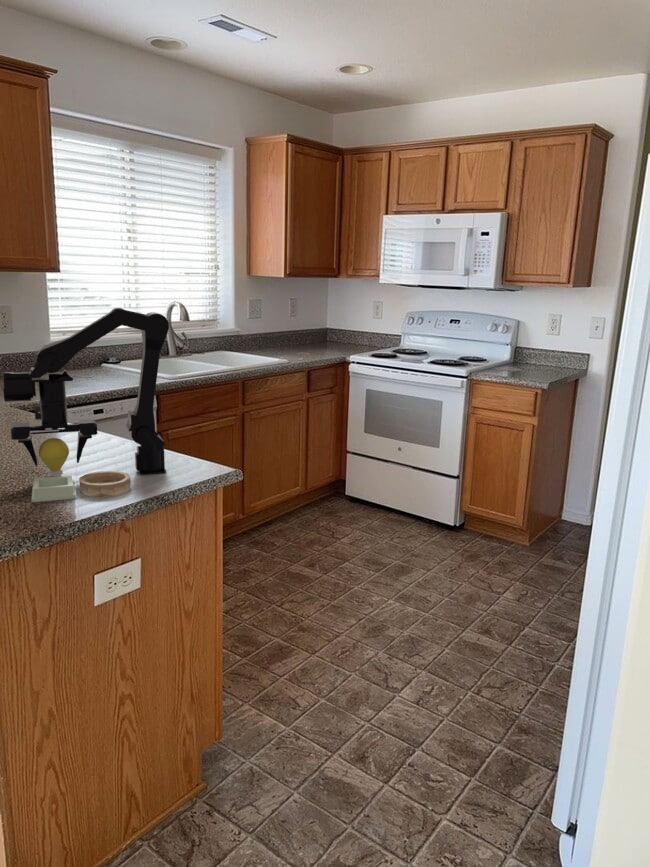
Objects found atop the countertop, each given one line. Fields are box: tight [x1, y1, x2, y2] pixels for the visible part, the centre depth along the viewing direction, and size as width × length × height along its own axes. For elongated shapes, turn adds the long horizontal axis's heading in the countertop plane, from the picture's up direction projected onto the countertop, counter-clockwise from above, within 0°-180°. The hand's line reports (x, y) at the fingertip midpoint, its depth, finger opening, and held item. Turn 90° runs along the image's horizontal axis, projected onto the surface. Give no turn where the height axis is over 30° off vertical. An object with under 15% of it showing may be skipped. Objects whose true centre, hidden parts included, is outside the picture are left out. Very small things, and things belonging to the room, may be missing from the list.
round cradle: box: [78, 470, 132, 498], centre depth 154 cm, size 11×11×3 cm
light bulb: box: [38, 437, 70, 477], centre depth 160 cm, size 7×7×10 cm
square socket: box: [31, 475, 77, 503], centre depth 150 cm, size 9×9×3 cm
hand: (57, 464), depth 161 cm, fingers open, 9 cm apart
